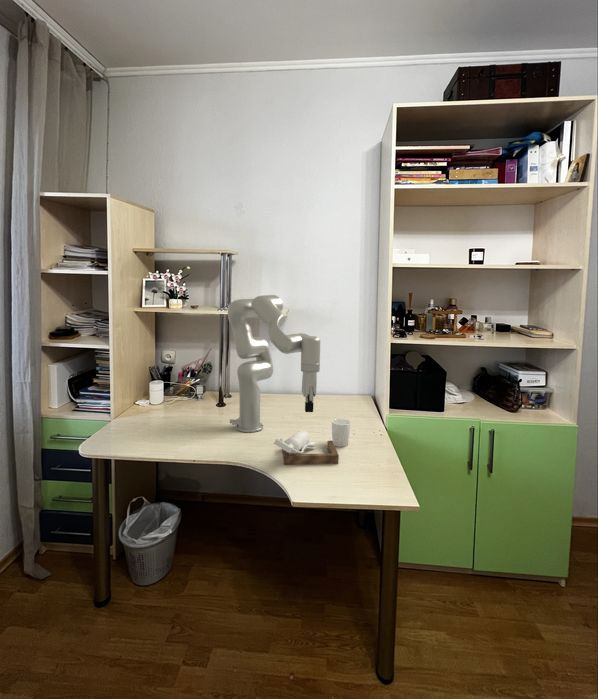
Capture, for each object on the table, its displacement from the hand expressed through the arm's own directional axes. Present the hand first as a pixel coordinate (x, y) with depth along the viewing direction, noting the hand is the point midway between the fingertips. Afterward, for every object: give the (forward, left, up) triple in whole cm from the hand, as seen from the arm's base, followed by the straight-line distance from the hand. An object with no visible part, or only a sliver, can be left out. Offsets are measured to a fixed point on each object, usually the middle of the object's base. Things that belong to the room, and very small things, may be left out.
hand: (309, 411), depth 186 cm
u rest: (0, -5, -17) cm, 18 cm away
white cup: (+15, +8, -17) cm, 24 cm away
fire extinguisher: (-1, +7, -14) cm, 16 cm away
